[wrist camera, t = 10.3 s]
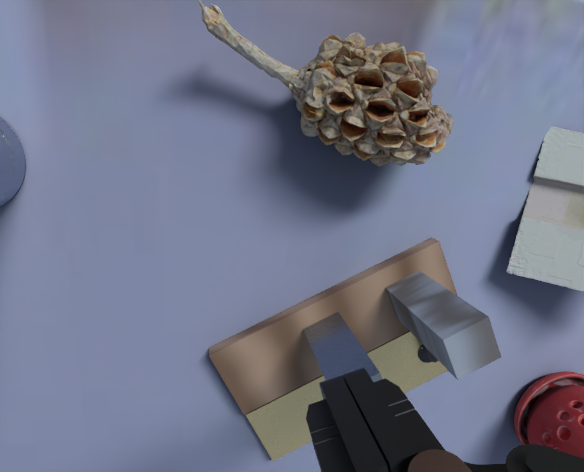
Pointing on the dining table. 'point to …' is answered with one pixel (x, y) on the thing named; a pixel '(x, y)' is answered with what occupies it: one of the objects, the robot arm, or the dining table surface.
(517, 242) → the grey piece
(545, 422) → the plant pot
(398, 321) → the base
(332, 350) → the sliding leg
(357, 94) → the pine cone
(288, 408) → the bolt plate
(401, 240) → the dining table surface
